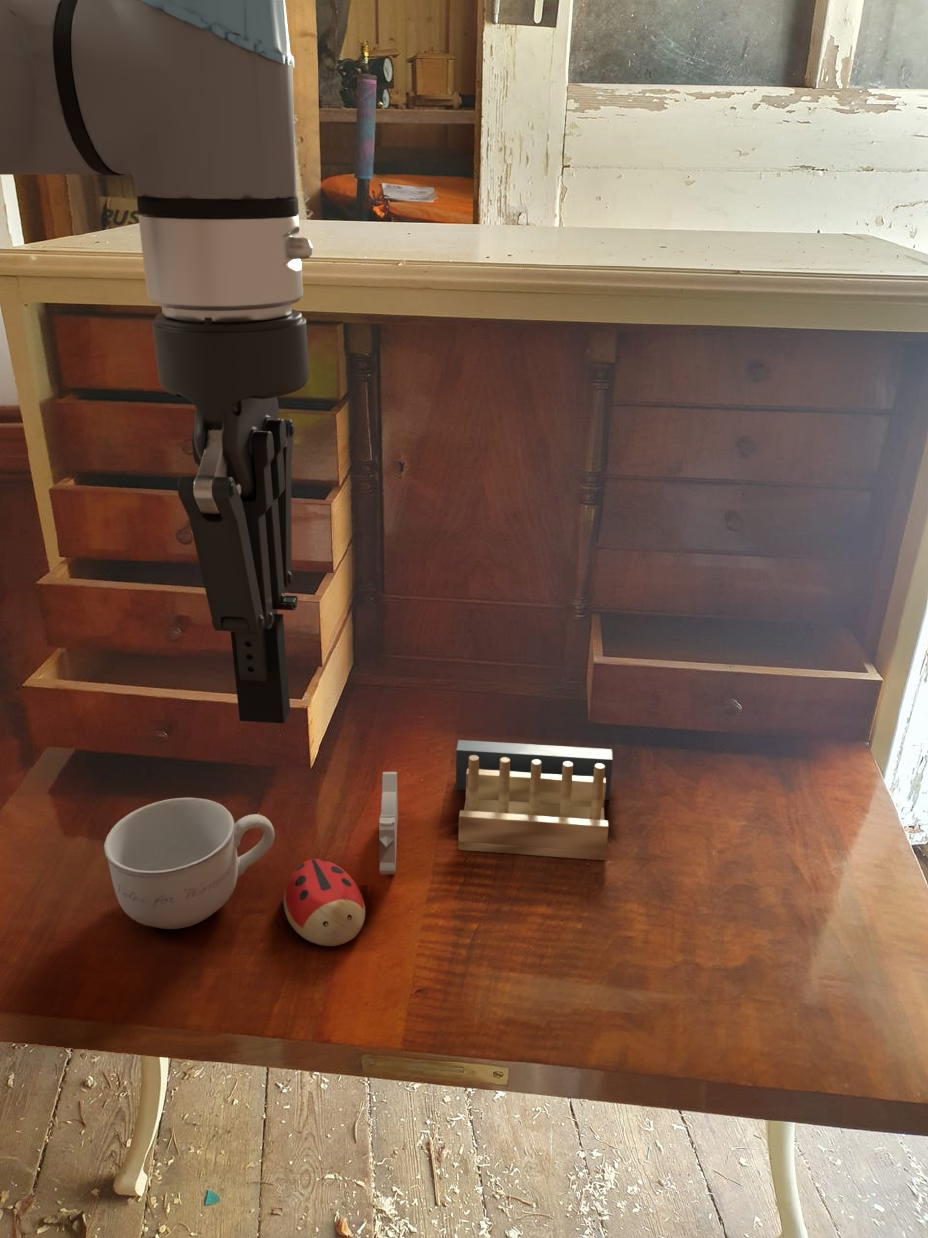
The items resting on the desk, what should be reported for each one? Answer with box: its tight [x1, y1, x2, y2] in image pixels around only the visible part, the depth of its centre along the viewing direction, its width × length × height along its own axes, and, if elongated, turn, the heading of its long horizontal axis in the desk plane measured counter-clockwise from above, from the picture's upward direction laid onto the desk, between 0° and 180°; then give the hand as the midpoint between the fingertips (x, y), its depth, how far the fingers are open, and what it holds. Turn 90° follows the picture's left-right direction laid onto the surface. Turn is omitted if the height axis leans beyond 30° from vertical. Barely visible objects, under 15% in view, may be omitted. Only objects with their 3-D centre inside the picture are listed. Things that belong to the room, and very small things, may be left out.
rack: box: [458, 755, 610, 862], centre depth 94 cm, size 14×8×8 cm, turn 84°
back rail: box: [455, 739, 614, 801], centre depth 100 cm, size 16×2×5 cm, turn 85°
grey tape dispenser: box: [378, 771, 399, 875], centre depth 91 cm, size 6×1×10 cm
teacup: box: [103, 797, 276, 930], centre depth 84 cm, size 14×11×8 cm
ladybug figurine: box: [283, 858, 366, 947], centre depth 84 cm, size 7×10×4 cm
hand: (265, 715), depth 58 cm, fingers closed
